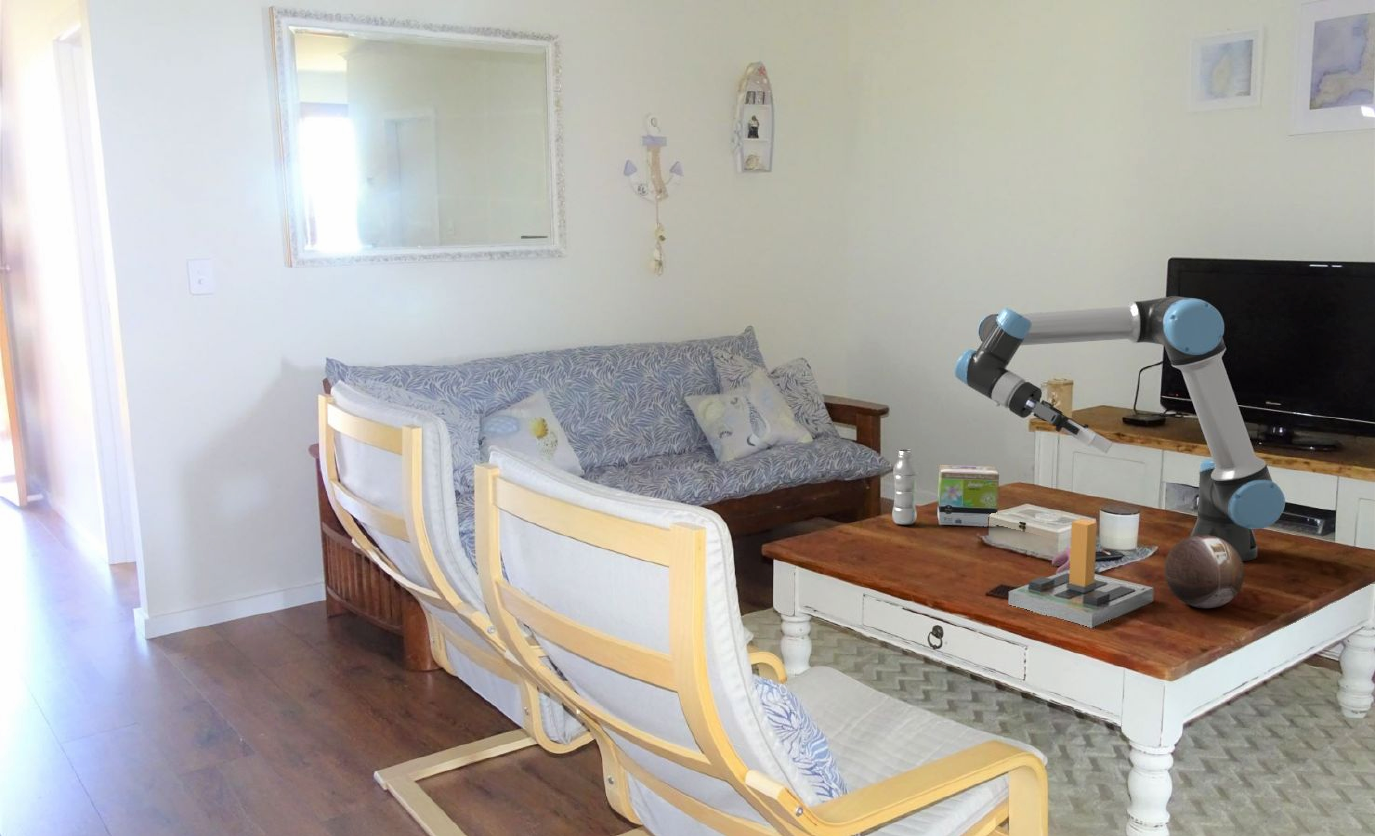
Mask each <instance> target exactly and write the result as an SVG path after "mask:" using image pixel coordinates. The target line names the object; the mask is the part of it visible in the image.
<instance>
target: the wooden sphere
mask: <svg viewBox="0 0 1375 836" xmlns="http://www.w3.org/2000/svg"><path fill="white" fill-rule="evenodd" d="M1163 566H1164V568H1163V571H1164V577H1165V578H1164V579H1165V581H1166V584H1167V586H1168V588H1169V589H1170V591H1171V593H1173V595H1174V596H1175V597H1176V598H1178V599H1179V600H1180V601H1182V602H1183V603H1185V604H1187V605H1189V606H1191V607H1194V608H1198V609H1213V608H1218V607H1221V606H1223V605H1226V604H1227V603H1230V602H1231V601H1232V600H1233V599H1234V598H1235V597H1236V596H1237V595H1238V594H1239V592H1240V591H1241V589H1242V587H1243V584H1244V581H1245V567H1244V561H1242V560H1241V558H1240V556H1239V554H1238V553H1237V551H1236V550H1235V549H1234V548H1233V547H1232V546H1231V545H1230V544H1229V543H1227V542H1226V541H1224V540H1222V539H1220V538H1218V537H1215V536H1211V535H1194V536H1190V535H1189V536H1187V537H1185V538H1183V539H1181V540H1180V541H1178V542H1176V544H1174V546H1172V547H1171V549H1170V550H1169V552H1168V554H1167V556H1166V558H1165V561H1164V565H1163Z"/></svg>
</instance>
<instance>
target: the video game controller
mask: <svg viewBox="0 0 1375 836" xmlns="http://www.w3.org/2000/svg"><path fill="white" fill-rule="evenodd" d="M1070 550H1071V545H1069V547H1067V548H1066V549H1064V550H1063V551H1062V552H1061V553H1059V554H1058V555H1056V556H1055V557H1053V558H1052V561H1051V565H1052V566H1053V567H1055V566H1059V567H1057V570H1056V571H1055V574H1058V573H1061V572H1063V571H1066V570H1069V569H1070Z"/></svg>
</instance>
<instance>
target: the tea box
mask: <svg viewBox="0 0 1375 836" xmlns="http://www.w3.org/2000/svg"><path fill="white" fill-rule="evenodd" d="M938 469H939V470H938V472H939V473H938V492H937V518H938V519H937V520H938V524H939V526H944V525H945V526H969V527H971V526H972V527H983V526H984V528H985V527H986V528H987V526H988V517H989V515H990V514H991V513H996V512H997V513H998V508H999V507H998V506H999V505H998V504H999V483H1000V482H999V481H1000V474H999V472H998V470H997V468H996V466H986V465H985V466H983V465H978V466H977V465H958V464H957V465H956V464H955V465H953V464H952V465H950V464H939V467H938Z"/></svg>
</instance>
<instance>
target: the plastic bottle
mask: <svg viewBox="0 0 1375 836" xmlns="http://www.w3.org/2000/svg"><path fill="white" fill-rule="evenodd" d="M897 457H898V460H897V461H896V462H895V464H894V466H893V468H892V474H893V480H894V499H893V500H894V501H893V507H892V513H891V517H892V521H893V522H894V523H895V524H897V525H902V526H906V525H913V524H914V523H915V522H916V520H917V516H918V515H917V508H916V507H917V506H916V497H915V496H916V495H915V494H916V482H917V476H918V475H917V474H918V467H917V465H916V463H915V462H914V461H913V460H912V458H913V457H914V455H913V450H912V449H908V448H907V449H906V448H904V449H902V448H901V449H898V455H897Z"/></svg>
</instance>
